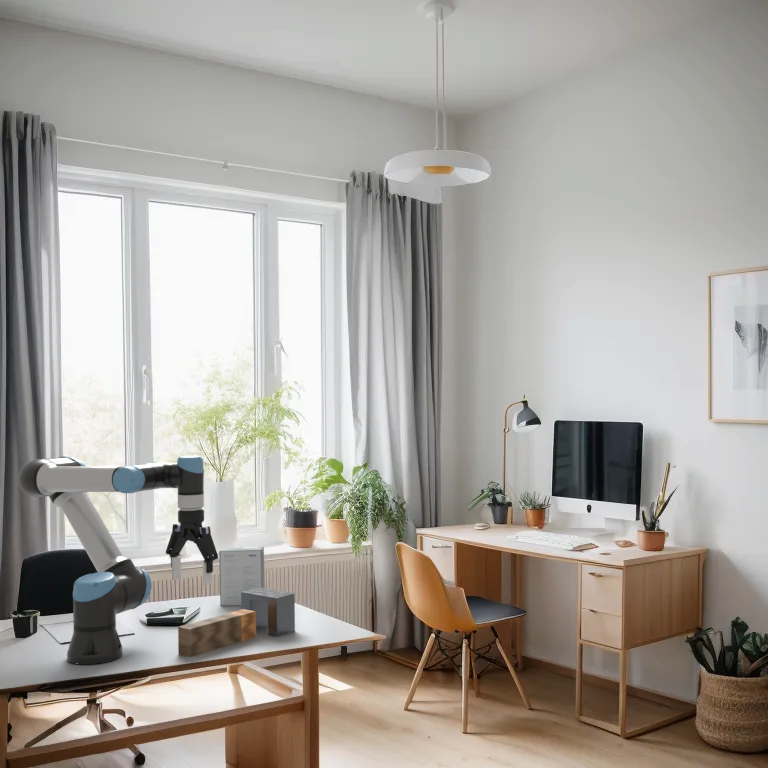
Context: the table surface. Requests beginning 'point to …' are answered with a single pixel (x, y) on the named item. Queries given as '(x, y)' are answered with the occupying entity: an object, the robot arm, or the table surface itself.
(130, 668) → the table surface
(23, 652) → the table surface
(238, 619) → the bar
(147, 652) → the table surface
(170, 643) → the table surface
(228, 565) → the hard drive box
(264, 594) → the socket housing
